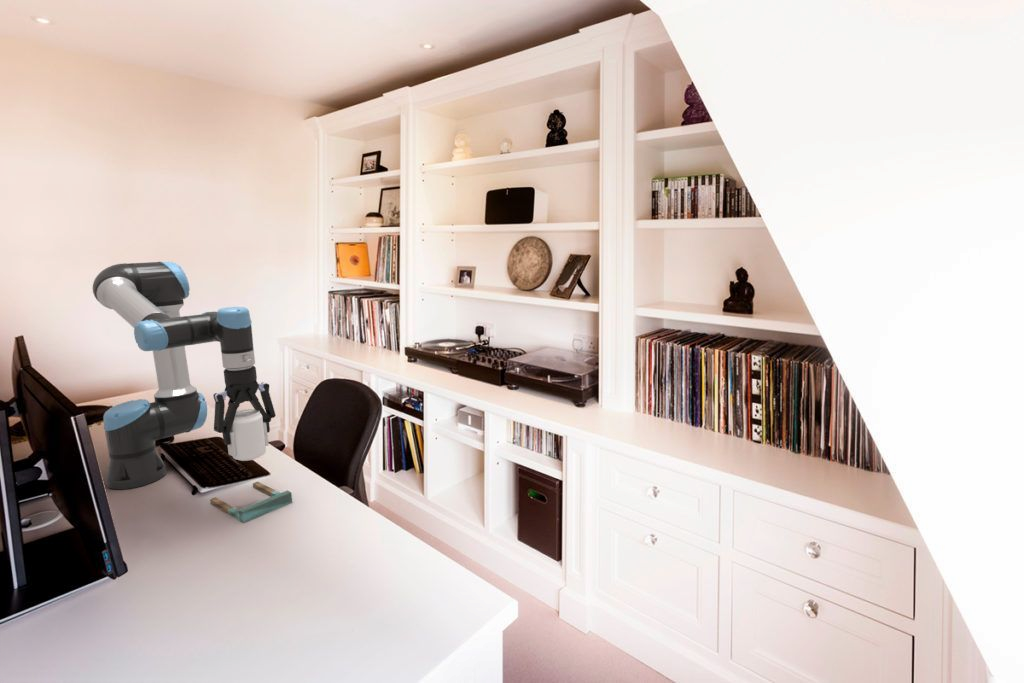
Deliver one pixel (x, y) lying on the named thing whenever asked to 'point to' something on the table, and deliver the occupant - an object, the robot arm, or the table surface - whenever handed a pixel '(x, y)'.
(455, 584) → the table surface
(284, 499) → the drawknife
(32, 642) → the table surface
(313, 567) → the table surface
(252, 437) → the beverage can
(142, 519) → the table surface
